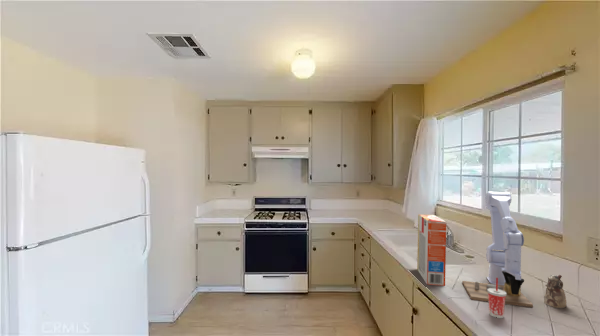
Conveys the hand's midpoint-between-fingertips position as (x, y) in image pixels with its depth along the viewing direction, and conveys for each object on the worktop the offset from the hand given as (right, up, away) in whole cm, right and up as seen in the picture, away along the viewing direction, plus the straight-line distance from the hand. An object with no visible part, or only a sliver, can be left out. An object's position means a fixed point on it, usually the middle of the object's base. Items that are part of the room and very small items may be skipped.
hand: (512, 291), depth 136 cm
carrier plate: (-6, -2, +2) cm, 7 cm away
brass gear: (0, -1, 0) cm, 1 cm away
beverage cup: (-18, -2, -18) cm, 26 cm away
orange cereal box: (-26, -2, +23) cm, 35 cm away
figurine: (+13, -3, -7) cm, 15 cm away
